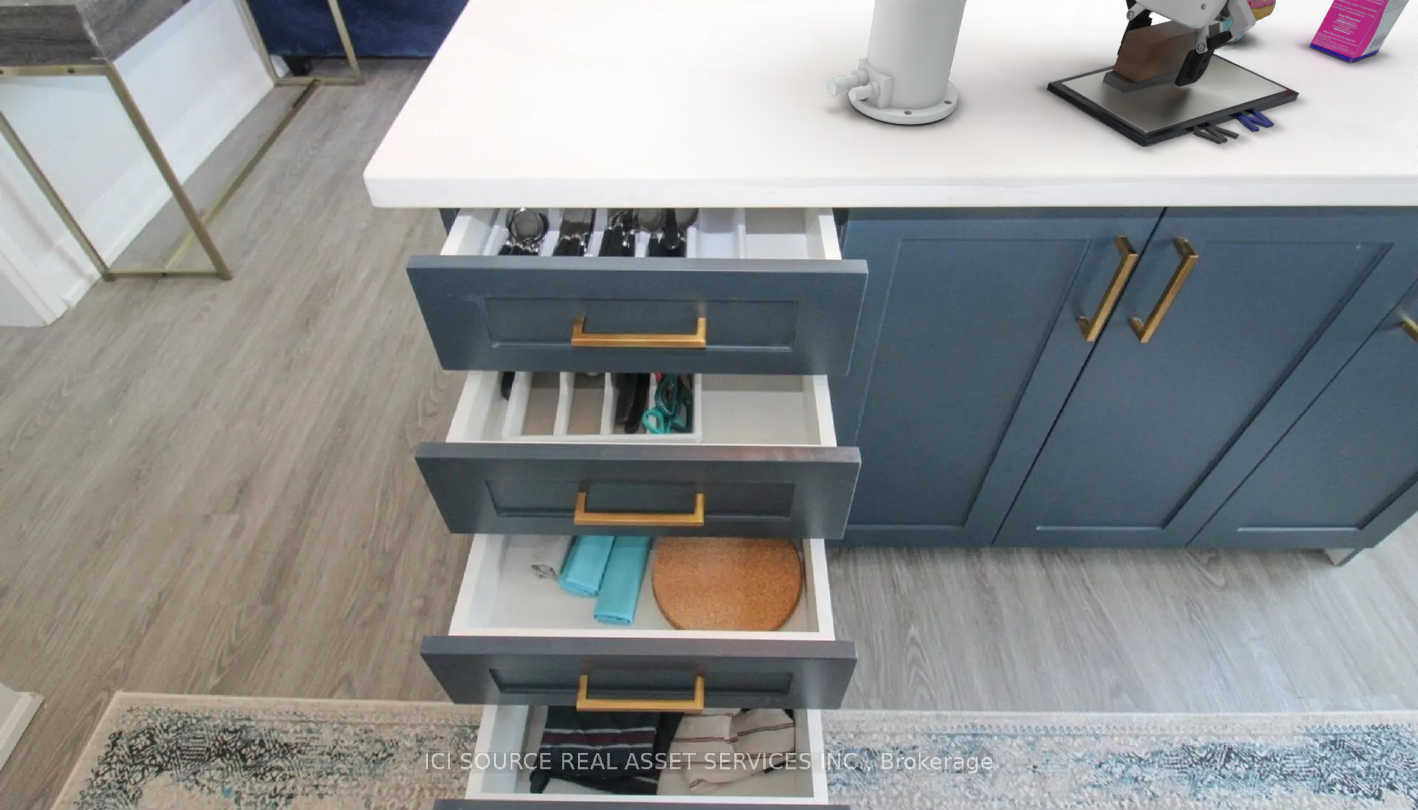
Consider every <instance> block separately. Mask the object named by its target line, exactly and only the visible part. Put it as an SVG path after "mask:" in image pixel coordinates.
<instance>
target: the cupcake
mask: <svg viewBox="0 0 1418 810" xmlns="http://www.w3.org/2000/svg"><path fill="white" fill-rule="evenodd" d="M1247 2H1248V4H1249V7H1250V9H1251V11H1252V13H1253V15H1254V17H1255V19H1256V23H1257V22H1258V21H1260V20H1261V21H1262V20H1263V19H1264V18H1266V17H1269V16H1271V15H1272V13H1273V12H1274V10H1275V8H1276V5H1277V0H1247ZM1232 23H1233V19H1232V17H1230V18H1229V19H1228V20H1227V21H1224V22H1223V32H1224V31H1225V30H1226V29H1228V28H1229V27H1230V26H1231V25H1232ZM1246 33H1247V32H1245V33H1244V34H1242V35H1241V36H1239V37H1238V38H1237V39H1236V40H1235V41H1233V42H1230V43H1229V44H1234V43H1237V42H1239V41H1240V40H1241V39H1242V37H1243V36H1244V35H1245V34H1246Z"/></svg>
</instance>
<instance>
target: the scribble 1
mask: <svg viewBox="0 0 1418 810" xmlns="http://www.w3.org/2000/svg"><path fill="white" fill-rule="evenodd" d="M1204 130H1205V131H1206V132H1205V131H1202V130H1201V129H1199V130H1195V131H1192V134H1193V135H1195V136H1197V137H1200V138H1203V139H1205V140H1208V141H1211V142H1213V143H1216V144H1218V145H1221V144H1222V143H1227V142H1228V140H1229V139H1228V138H1232V139H1234V140H1236V139H1237V138H1239V137H1240V134H1239V133H1236V132H1234V131H1231V130H1229V129H1226V128H1223V127H1221V126H1219V125H1218V126H1217V125H1216V124H1215V125H1211V126H1207V127H1205V128H1204ZM1226 136H1227V137H1228V138H1227V137H1226Z"/></svg>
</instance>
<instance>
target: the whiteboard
mask: <svg viewBox="0 0 1418 810" xmlns="http://www.w3.org/2000/svg"><path fill="white" fill-rule="evenodd" d="M1209 62H1210V63H1209V65H1208V67H1207V69H1206V71H1204V73H1203V75H1202V77H1201V78H1200V79H1199V80H1198V81H1197V82H1195V83H1192V84H1188V85H1185V86H1181V87H1178V86H1176V85H1175V80H1176V79H1174V80H1170V81H1167V82H1163V83H1160V84H1156V85H1152V86H1149V87H1145V88H1142V89H1138V90H1135V91H1131V92H1128V93H1125V92H1123V91H1121V90H1119V89H1117V88H1115V87H1114V86H1112V85H1110V84H1108V83H1106V82H1105V81H1103V79H1104V76H1105V73H1106V72H1110V71H1113V68H1114V65H1111V66H1106V67H1103V68H1099V69H1095V70H1092V71H1088V72H1085V73H1081V74H1076V75H1073V76H1070V77H1065V78H1061V79H1057V80H1054V81H1050V82H1048V84H1047V86H1046V90H1047V91H1049V92H1050V93H1052V94H1054V95H1056V96H1057V97H1059V98H1061V99H1062V100H1064V101H1065V102H1067V103H1069V104H1071V105H1073V106H1074V107H1075V108H1077V109H1079V110H1081V111H1083V112H1084V113H1086V114H1088V115H1089V116H1090V117H1092V118H1094V119H1095V120H1098V121H1100V122H1101V123H1102V124H1104V125H1106V126H1108V127H1109V128H1111V129H1113V130H1115V131H1116V132H1118V133H1120V134H1121V135H1122V136H1124V137H1126V138H1128V139H1130V140H1131V141H1133V142H1135V143H1136V144H1138V145H1140V146H1141V147H1147V146H1150V145H1153V144H1156V143H1160V142H1163V141H1166V140H1170V139H1173V138H1176V137H1179V136H1183V135H1185V134H1189V133H1193V132H1194V131H1195V130H1201V129H1205V127H1207V126H1211V125H1215V126H1216V125H1219V124H1221V123H1225V122H1228V121H1231V120H1234V119H1237V117H1238V116H1242V115H1243V114H1244V115H1247V116H1248V115H1250V114H1252V112H1253V111H1260V112H1261V111H1264V110H1267V109H1271V108H1273V107H1277V106H1280V105H1282V104H1285V103H1288V102H1289V103H1290V102H1293V101H1296V100H1297V99H1298V97H1299V95H1300V92H1298V91H1296V90H1293V89H1292V88H1289V87H1287V86H1286V85H1283V84H1280V83H1279V82H1276V81H1274V80H1273V79H1270V78H1268V77H1266V76H1264V75H1261V74H1260V73H1257V72H1255V71H1253V70H1250V69H1248V68H1246V67H1244V66H1242V65H1240V64H1238V63H1236V62H1233V61H1231V60H1229V59H1227V58H1225V57H1222V56H1221V55H1219V54H1216V53H1215V52H1214V53H1213V55H1212V57H1211V59H1210V61H1209Z"/></svg>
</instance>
